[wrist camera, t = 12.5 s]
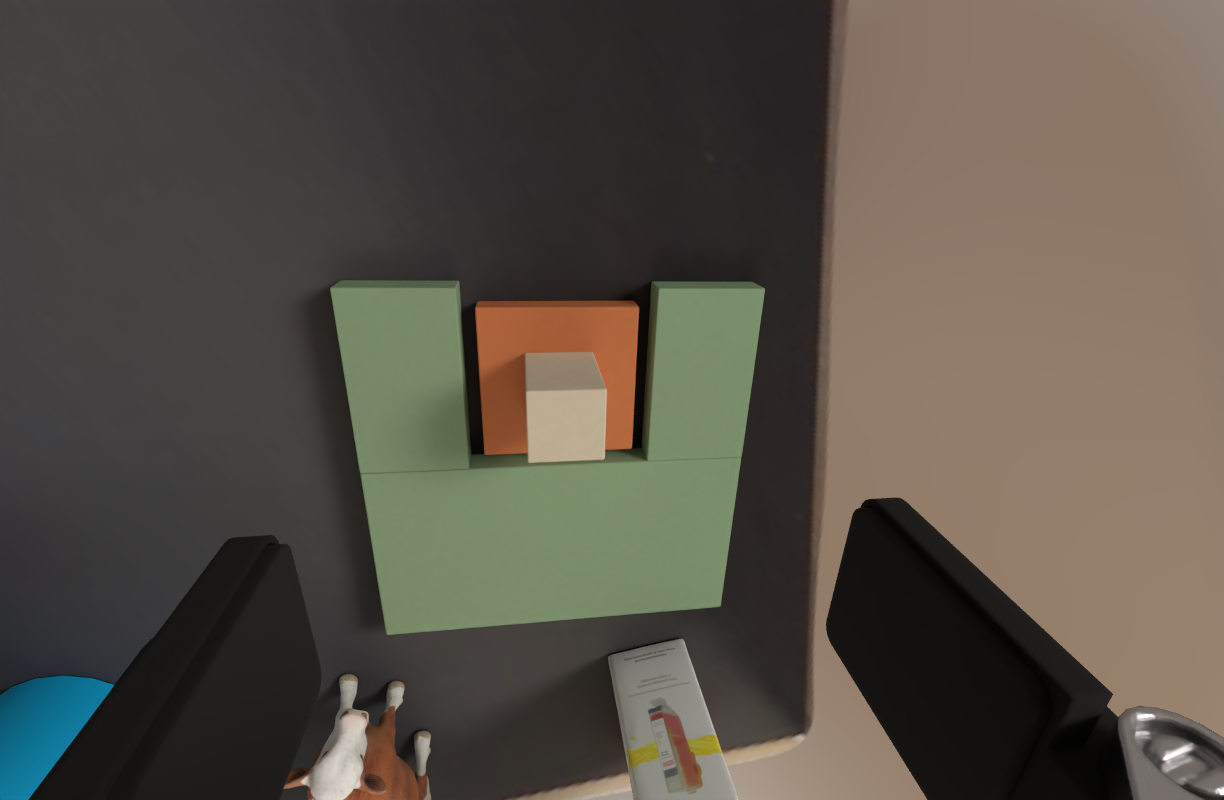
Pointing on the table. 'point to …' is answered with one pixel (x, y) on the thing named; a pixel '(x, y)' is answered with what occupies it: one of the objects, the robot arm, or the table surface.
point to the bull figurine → (365, 756)
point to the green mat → (544, 468)
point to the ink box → (667, 726)
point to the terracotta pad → (553, 334)
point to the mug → (42, 727)
